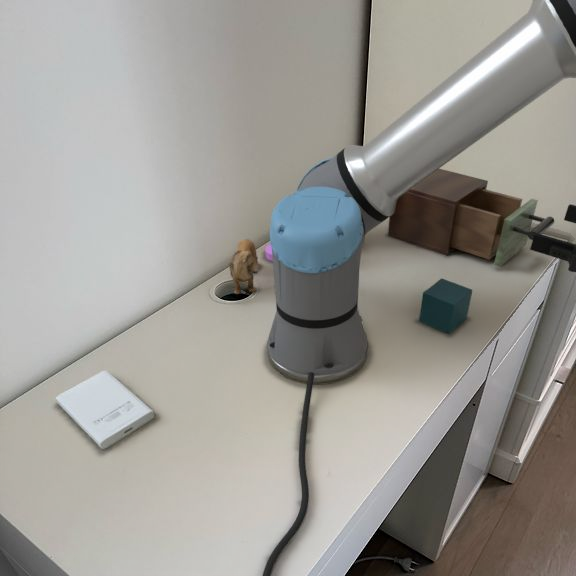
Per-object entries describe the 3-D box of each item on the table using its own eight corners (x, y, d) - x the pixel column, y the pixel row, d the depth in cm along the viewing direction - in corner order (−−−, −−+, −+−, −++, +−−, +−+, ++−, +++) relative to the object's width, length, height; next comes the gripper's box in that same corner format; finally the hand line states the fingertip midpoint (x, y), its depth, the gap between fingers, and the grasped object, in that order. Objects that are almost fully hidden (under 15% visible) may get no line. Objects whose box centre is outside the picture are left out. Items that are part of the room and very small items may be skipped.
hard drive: (109, 377, 81) (155, 417, 74) (58, 405, 77) (102, 450, 70) (106, 368, 80) (152, 409, 73) (54, 396, 76) (99, 442, 69)
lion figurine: (264, 302, 94) (260, 256, 88) (233, 305, 94) (227, 259, 88) (258, 260, 105) (254, 216, 99) (231, 263, 105) (225, 219, 99)
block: (466, 318, 88) (472, 289, 84) (448, 334, 85) (454, 305, 81) (436, 306, 91) (441, 277, 87) (418, 321, 88) (422, 292, 84)
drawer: (548, 251, 100) (562, 206, 95) (522, 274, 95) (535, 228, 89) (466, 226, 109) (474, 183, 103) (438, 246, 104) (445, 202, 98)
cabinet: (477, 232, 109) (488, 180, 102) (447, 255, 103) (456, 201, 96) (419, 214, 116) (425, 164, 109) (387, 235, 110) (392, 183, 103)
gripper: (653, 324, 77) (511, 275, 88) (701, 255, 90) (573, 220, 102) (676, 278, 72) (523, 232, 83) (724, 212, 85) (586, 180, 96)
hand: (550, 226), depth 93 cm, fingers open, 13 cm apart
